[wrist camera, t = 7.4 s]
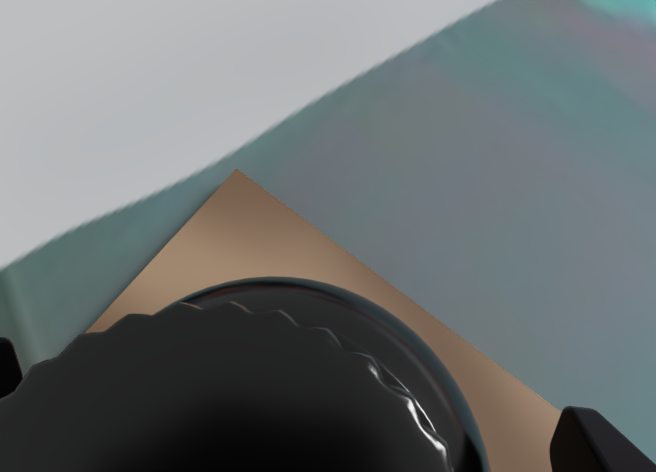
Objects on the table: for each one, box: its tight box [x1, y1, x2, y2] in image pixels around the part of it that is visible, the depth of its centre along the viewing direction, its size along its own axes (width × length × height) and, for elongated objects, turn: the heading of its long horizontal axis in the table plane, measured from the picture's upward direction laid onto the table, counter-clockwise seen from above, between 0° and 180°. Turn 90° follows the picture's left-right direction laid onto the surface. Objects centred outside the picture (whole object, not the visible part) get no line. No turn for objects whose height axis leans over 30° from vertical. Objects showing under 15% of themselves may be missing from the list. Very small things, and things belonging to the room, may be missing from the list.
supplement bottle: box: [0, 276, 491, 472], centre depth 9 cm, size 7×7×12 cm
